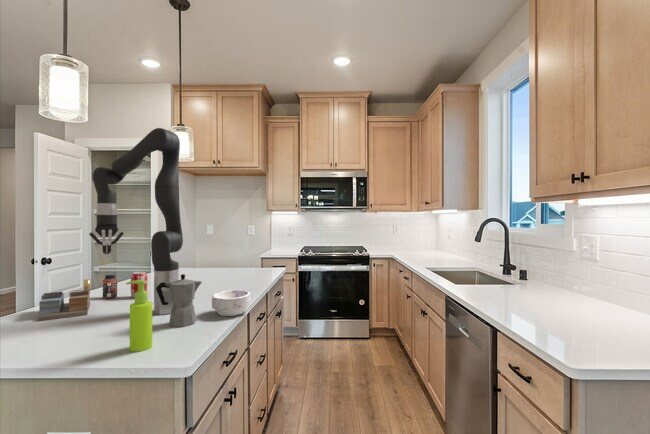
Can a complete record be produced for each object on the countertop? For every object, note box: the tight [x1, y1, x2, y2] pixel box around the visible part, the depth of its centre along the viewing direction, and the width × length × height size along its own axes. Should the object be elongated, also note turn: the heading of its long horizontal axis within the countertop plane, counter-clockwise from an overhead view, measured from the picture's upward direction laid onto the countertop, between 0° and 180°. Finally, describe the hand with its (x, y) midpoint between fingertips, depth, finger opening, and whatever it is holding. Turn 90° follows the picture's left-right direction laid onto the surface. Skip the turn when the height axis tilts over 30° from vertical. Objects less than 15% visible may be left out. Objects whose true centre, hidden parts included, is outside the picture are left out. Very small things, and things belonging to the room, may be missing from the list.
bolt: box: [68, 279, 92, 297], centre depth 141 cm, size 3×7×6 cm, turn 122°
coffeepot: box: [156, 273, 203, 328], centre depth 123 cm, size 15×9×18 cm, turn 116°
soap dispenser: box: [125, 280, 153, 352], centre depth 101 cm, size 6×7×20 cm
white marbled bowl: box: [211, 289, 252, 317], centre depth 137 cm, size 15×15×8 cm
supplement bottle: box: [102, 273, 118, 300], centre depth 162 cm, size 6×6×11 cm
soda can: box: [130, 271, 148, 299], centre depth 164 cm, size 7×7×12 cm
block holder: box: [37, 289, 91, 322], centre depth 138 cm, size 20×15×8 cm
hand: (106, 253), depth 146 cm, fingers closed
